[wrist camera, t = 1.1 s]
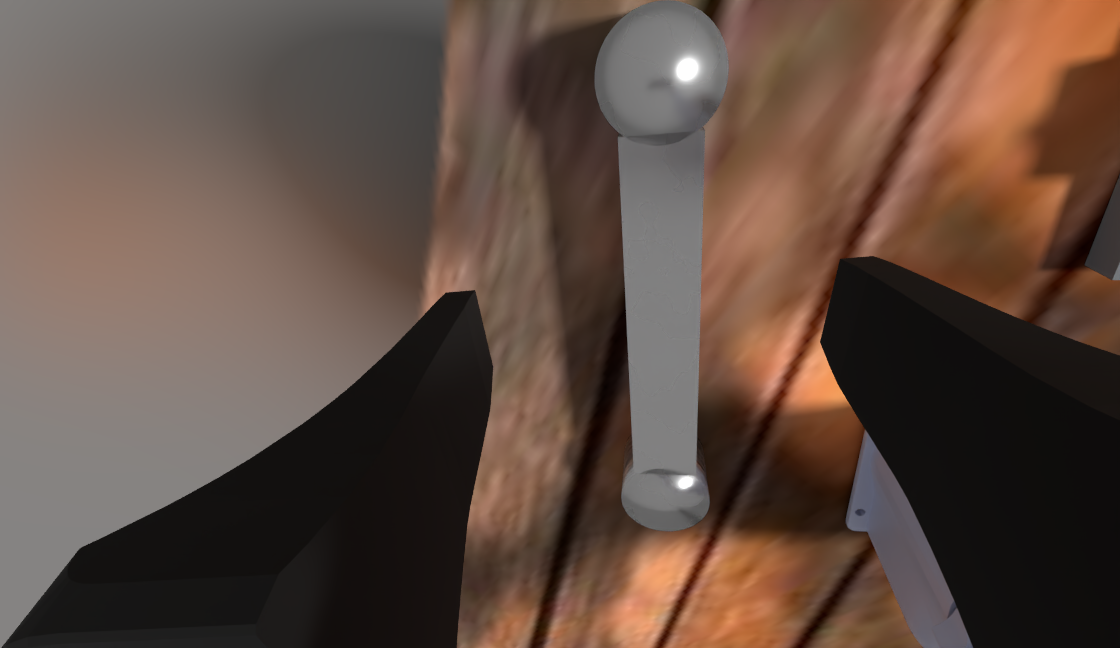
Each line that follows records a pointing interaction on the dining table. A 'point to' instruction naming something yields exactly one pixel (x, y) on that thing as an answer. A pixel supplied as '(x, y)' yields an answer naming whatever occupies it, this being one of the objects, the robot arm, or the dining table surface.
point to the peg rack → (1108, 240)
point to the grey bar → (662, 243)
